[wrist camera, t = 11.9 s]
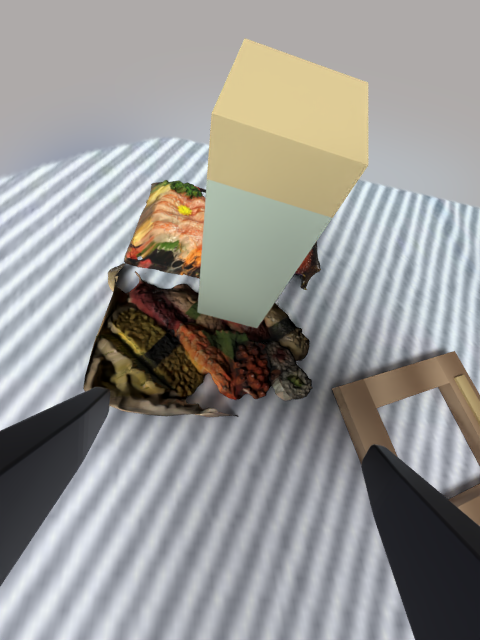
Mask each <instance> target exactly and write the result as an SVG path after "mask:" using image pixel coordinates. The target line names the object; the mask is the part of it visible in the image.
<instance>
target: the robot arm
mask: <svg viewBox="0 0 480 640" xmlns="http://www.w3.org/2000/svg"><path fill="white" fill-rule="evenodd" d="M109 404H110V390H109V389H107V388H103V387H94V388H92V389H90V390H88V391H86V392H84V393H81V394H79V395H77V396H75V397H73V398H70V399H68V400H66V401H64V402H62V403H60V404H57V405H55V406H53V407H51V408H49V409H47V410H44V411H42V412H40V413H38V414H36V415H34V416H31V417H29V418H27V419H25V420H23V421H21V422H18V423H16V424H14V425H12V426H10V427H8V428H5V429H3V430H1V431H0V586H1V585H2V583H3V582H4V580H5V579H6V577H7V576H8V574H9V573H10V571H11V570H12V568H13V567H14V565H15V564H16V562H17V561H18V559H19V558H20V556H21V555H22V553H23V552H24V550H25V549H26V547H27V546H28V544H29V542H30V541H31V539H32V538H33V536H34V535H35V533H36V532H37V530H38V529H39V527H40V526H41V524H42V523H43V521H44V520H45V518H46V517H47V515H48V514H49V512H50V511H51V509H52V508H53V506H54V505H55V503H56V502H57V500H58V499H59V497H60V496H61V494H62V493H63V491H64V490H65V488H66V487H67V485H68V484H69V482H70V481H71V479H72V478H73V476H74V475H75V473H76V472H77V470H78V469H79V467H80V465H81V464H82V462H83V460H84V459H85V457H86V455H87V453H88V451H89V449H90V447H91V446H92V444H93V442H94V440H95V438H96V436H97V434H98V432H99V430H100V428H101V427H102V425H103V423H104V421H105V419H106V417H107V415H108V412H109ZM362 471H363V475H364V479H365V484H366V488H367V492H368V496H369V500H370V504H371V508H372V512H373V515H374V519H375V522H376V525H377V528H378V531H379V534H380V537H381V540H382V543H383V546H384V549H385V552H386V555H387V558H388V561H389V564H390V567H391V570H392V573H393V576H394V579H395V582H396V584H397V587H398V590H399V593H400V596H401V599H402V602H403V605H404V608H405V611H406V614H407V617H408V620H409V623H410V626H411V629H412V632H413V635H414V638H415V640H480V526H479V525H478V524H477V523H475V522H474V521H473V520H472V519H471V518H469V517H468V516H467V515H466V514H465V513H463V512H462V511H461V510H460V509H459V508H458V507H456V506H455V505H454V504H453V503H452V502H450V501H449V500H448V499H447V498H446V497H444V496H443V495H442V494H441V493H440V492H439V491H437V490H436V489H435V488H434V487H433V486H431V485H430V484H429V483H428V482H427V481H425V480H424V479H423V478H422V477H421V476H419V475H418V474H417V473H416V472H415V471H414V470H412V469H411V468H410V467H409V466H408V465H406V464H405V463H404V462H403V461H402V460H400V459H399V458H398V457H397V456H396V455H395V454H393V453H392V452H391V451H390V450H389V449H387V448H386V447H384V446H381V445H376V444H373V445H371V446H370V447H369V449H368V451H367V453H366V455H365V456H364V458H363V460H362Z"/></svg>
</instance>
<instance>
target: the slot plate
mask: <svg viewBox="0 0 480 640" xmlns="http://www.w3.org/2000/svg"><path fill="white" fill-rule="evenodd" d="M436 387H438V388H439V389H440V391H441V393H442V395H443V397H444V399H445V401H446V403H447V405H448V407H449V408H450V410H451V412H452V414H453V416H454V418H455V420H456V422H457V424H458V426H459V427H460V429H461V431H462V433H463V435H464V437H465V439H466V441H467V443H468V444H469V446H470V448H471V450H472V452H473V454H474V456H475V458H476V460H477V462H478V463H479V465H480V394H479V393H478V391H477V389H476V387H475V386H474V384H473V382H472V380H471V379H470V377H469V375H468V373H467V372H466V370H465V368H464V366H463V365H462V363H461V361H460V360H459V358H458V356H457V354H456V353H455V351H454V352H450V353H447V354H443V355H440V356H437V357H433V358H430V359H427V360H424V361H420V362H417V363H414V364H411V365H407V366H404V367H401V368H397V369H394V370H391V371H388V372H384V373H381V374H378V375H375V376H371V377H368V378H365V379H361V380H358V381H355V382H352V383H348V384H345V385H342V386H339V387H335V388H332V391H333V393H334V396H335V398H336V401H337V404H338V406H339V409H340V411H341V414H342V416H343V419H344V421H345V424H346V427H347V429H348V432H349V434H350V437H351V439H352V442H353V444H354V447H355V450H356V452H357V455H358V457H359V460H360V462H361V465H362V460H363V458H364V456H365V455H366V453H367V451H368V449H369V447H370V446H371V445H373V444H376V445H381V446H384V447H386V448H387V449H389V450H390V451H391V452H392V453H393V454H395V455H396V456H397V454H396V452H395V449H394V447H393V445H392V443H391V440H390V438H389V436H388V433H387V431H386V429H385V427H384V424H383V422H382V420H381V417H380V415H379V413H378V411H377V408H378V407H381V406H384V405H387V404H390V403H393V402H396V401H398V400H401V399H404V398H407V397H410V396H413V395H416V394H419V393H422V392H424V391H427V390H430V389H433V388H436ZM397 457H398V456H397ZM448 500H449V501H450V502H452V503H453V504H454V505H455V506H456V507H458V508H459V509H460V510H461V511H462V512H463V513H465V514H466V515H467V516H468V517H469V518H471V519H472V520H473V521H474V522H475V523H477V524H478V525H479V526H480V484H478V485H476V486H474V487H472V488H470V489H468V490H466V491H464V492H462V493H460V494H458V495H456V496H454V497H452V498H450V499H448Z"/></svg>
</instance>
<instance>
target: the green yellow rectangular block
mask: <svg viewBox="0 0 480 640" xmlns="http://www.w3.org/2000/svg"><path fill="white" fill-rule="evenodd" d="M367 166H368V83H367V82H365V81H362V80H359V79H357V78H354V77H351V76H348V75H345V74H343V73H340V72H337V71H334V70H331V69H329V68H326V67H323V66H320V65H317V64H315V63H312V62H309V61H306V60H304V59H301V58H298V57H295V56H292V55H290V54H287V53H284V52H281V51H279V50H276V49H273V48H270V47H267V46H265V45H262V44H259V43H256V42H254V41H251V40H248V39H244V41H243V44H242V46H241V48H240V50H239V53H238V55H237V57H236V59H235V62H234V64H233V66H232V68H231V71H230V73H229V75H228V78H227V80H226V82H225V84H224V87H223V89H222V91H221V94H220V96H219V98H218V100H217V102H216V105H215V107H214V109H213V111H212V117H211V130H210V144H209V158H208V172H207V186H206V199H205V213H204V227H203V241H202V255H201V269H200V282H199V296H198V310H197V312H198V313H201V314H205V315H209V316H213V317H216V318H220V319H224V320H228V321H231V322H235V323H239V324H243V325H246V326H250V327H254V328H258V326H259V325H260V324H261V322H262V321H263V319H264V318H265V316H266V315H267V313H268V312H269V310H270V309H271V307H272V306H273V304H274V303H275V301H276V300H277V299H278V297H279V296H280V294H281V293H282V291H283V290H284V288H285V287H286V285H287V284H288V282H289V281H290V279H291V278H292V276H293V275H294V274H295V272H296V271H297V269H298V268H299V266H300V265H301V263H302V262H303V260H304V259H305V257H306V256H307V254H308V253H309V252H310V250H311V249H312V247H313V246H314V244H315V243H316V241H317V240H318V238H319V237H320V235H321V234H322V232H323V231H324V229H325V228H326V227H327V225H328V224H329V222H330V221H331V219H332V218H333V216H334V215H335V213H336V212H337V210H338V209H339V207H340V206H341V204H342V203H343V202H344V200H345V199H346V197H347V196H348V194H349V193H350V191H351V190H352V188H353V187H354V185H355V184H356V182H357V181H358V179H359V178H360V176H361V175H362V174H363V172H364V171H365V169H366V168H367Z"/></svg>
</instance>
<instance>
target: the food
mask: <svg viewBox="0 0 480 640" xmlns="http://www.w3.org/2000/svg"><path fill="white" fill-rule="evenodd" d="M151 185H152V186H151V193H150V196H149V200H147V201H146V203H147V205H146V206H145V208H144V210H143V212H142V214H141V216H140V219H139V222H138V225H137V227H136V230H135V233H134V235H133V238H132V240H131V242H130V244H129V247H128V250H127V252H126V255H125V259H124V262H125V264H130V265H132V266H137V267H142V268H149V269H156V270H159V271H163V272H167V273H173V274H179V275H183V274H185V275H188V276H191V277H197V278H199V279H200V269H201V255H202V241H203V227H204V213H205V199H206V198H205V197H203V196H202V193H201V192H205V193H206V190H205V189H202V188H199V187H196V186H194V185H193V184H190V183H188V182H187V183H185V184H184V183H182V182H180V181H173V182H168V180H165V181H164V182H159V183H153V184H151ZM140 255H141V256H142V258H143V259H142V260H137V257H139V256H140ZM125 264H121V265H119V266H118V267H114V268H112V269H111V270H110V271H109V272H108V284H109V286H110V288H111V290H112V291H113V295H112V298H111V300H110V303H109V306H108V308H107V311H106V313H105V316H104V319H103V321H102V324H101V326H100V329H99V332H98V334H97V336H96V339H95V342H94V345H93V349H92V353H91V356H90V360H89V364H88V368H87V371H86V375H85V381H84V388H83V389H84V390H85V392H86V391H88V390H90V389H92V388H94V387H103V388H107V389H109V390H110V404H109V406H112V407H114V408H117V409H120V410H122V411H126V412H133V413H140V414H147V415H157V416H173V415H184V414H195V415H201V416H205V417H219V416H230V415H229V414H225V413H221V412H218V411H217V409H215V408H207V409H204V410H203V409H202V408H201V407H200V406H199V404H196V403H194V404H188V403H186V398H187V397H188V396H190V395H192V394H193V393H194V392H195V390H196V388H197V387H198V386H199V385H200V384H202V383H203V380H204V376H205V375H206V374H207V373H208V372H209V373H210V374H211V376H212V379H213V381H214V382H215V384H216V385H217V386H218V389H219V392H220V393H221V394H223V395H225V396H226V397H228V398H230V399H234V400H237V399H240V398H241V397H242V396H243V395H244V394H250V395H251V396H252V397H253V398H254V399H258V398H261V397H263V396H266V393H267V391H268V390H269V388H270V387H271V386H272V387H274V390H275V394H276V395H277V396H279V397H280V398H281V399H283V400H284V401H287V400H292V399H301V398H304V397H306V396H307V395H308V393H309V392H310V390H311V389H312V387H311V385H312V380H311V379H309V378H308V376H307V374H306V373H305V372H304V371H303V370H302V369H301V368H300V367H298V366H297V364H296V362H295V361H301V360H302V359H304V358H305V356H306V355H307V353H308V349H309V339H307V338H306V337H305V336H304V335H303V334H302V329H301V328H298V327H296V326H295V325H294V323H293V322H292V321H291V320H290V319H289V316H288V315H287V314H286V313H285V312H284V311H283V310H282V309H280V308H279V307H278V306H277V305H276V304H275V303H274V304H273V306H272V307H271V309H270V310H269V312H268V313H267V315H266V316H265V318H264V319H263V321H262V322H261V324H260V325H259V326H258V328H254V327H250V326H246V325H243V324H239V323H235V322H231V321H228V320H224V319H220V318H216V317H213V316H209V315H205V314H201V313H198V312H197V310H198V296H199V293H197V292H195V291H193V290H192V289H191V288H190V287H189V286H188V285H187V284H179V285H176V286H175V287H173V288H171V289H161V288H157V287H156V286H155V285H151V284H148V283H147V282H145V281H143V280H142V279H141V277H140V275H139V274H138V273H137V272H136V271H135V273H136V274H137V276H138V277H139V278H140V279H139V283H138V285H137V286H136V287H135V288H134V289H132V290H131V291H130V292H128V293H125V292H124V291H122V290H121V289H119V288H118V287H117V286H116V282H117V278H118V276H116V274H117V273H118V272H119V270H120V269H121V268H122V267H123V266H124V265H125ZM320 270H321V269H320V263H319V261H318V255H317V241H316V243H315V244H314V246H313V247H312V249H311V250H310V252H309V253H308V254H307V256H306V257H305V259H304V260H303V262H302V263H301V265H300V266H299V268H298V269H297V271H296V272H295V274H299V275H302V284H301V288H302V289H304V290H307V289H306V286H307V283H308V281H309V279H310V278H311V277H312V276H313V275H314V274H315V273H317V272H319V271H320ZM115 276H116V277H115ZM169 330H174V332H175V334H174V337H172V336H171V335H170V334H168V333H167V332H168V331H169ZM265 342H269V343H267V344H262V343H265ZM233 416H237V415H233ZM238 417H239V416H238Z"/></svg>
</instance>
